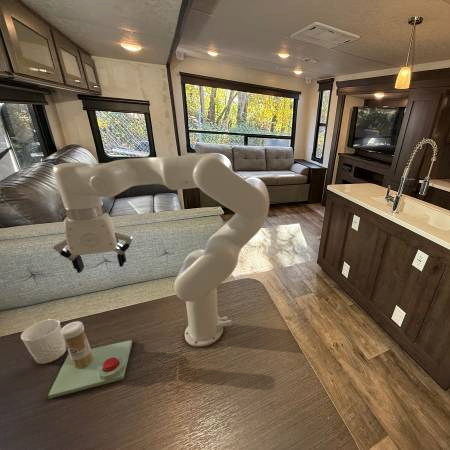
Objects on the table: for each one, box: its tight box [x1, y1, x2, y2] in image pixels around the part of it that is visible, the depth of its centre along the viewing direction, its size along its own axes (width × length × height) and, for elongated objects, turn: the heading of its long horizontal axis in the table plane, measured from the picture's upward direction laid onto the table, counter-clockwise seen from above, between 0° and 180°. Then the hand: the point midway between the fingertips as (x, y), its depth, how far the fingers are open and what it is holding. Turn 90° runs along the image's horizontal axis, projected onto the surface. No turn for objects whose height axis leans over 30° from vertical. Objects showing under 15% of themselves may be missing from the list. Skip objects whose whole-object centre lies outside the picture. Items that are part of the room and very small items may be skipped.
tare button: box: [103, 357, 118, 372], centre depth 69 cm, size 3×3×2 cm
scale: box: [47, 339, 133, 399], centre depth 71 cm, size 16×13×3 cm
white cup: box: [20, 318, 67, 365], centre depth 72 cm, size 8×8×10 cm
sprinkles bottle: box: [61, 321, 94, 368], centre depth 69 cm, size 5×5×14 cm
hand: (102, 267), depth 71 cm, fingers open, 9 cm apart
